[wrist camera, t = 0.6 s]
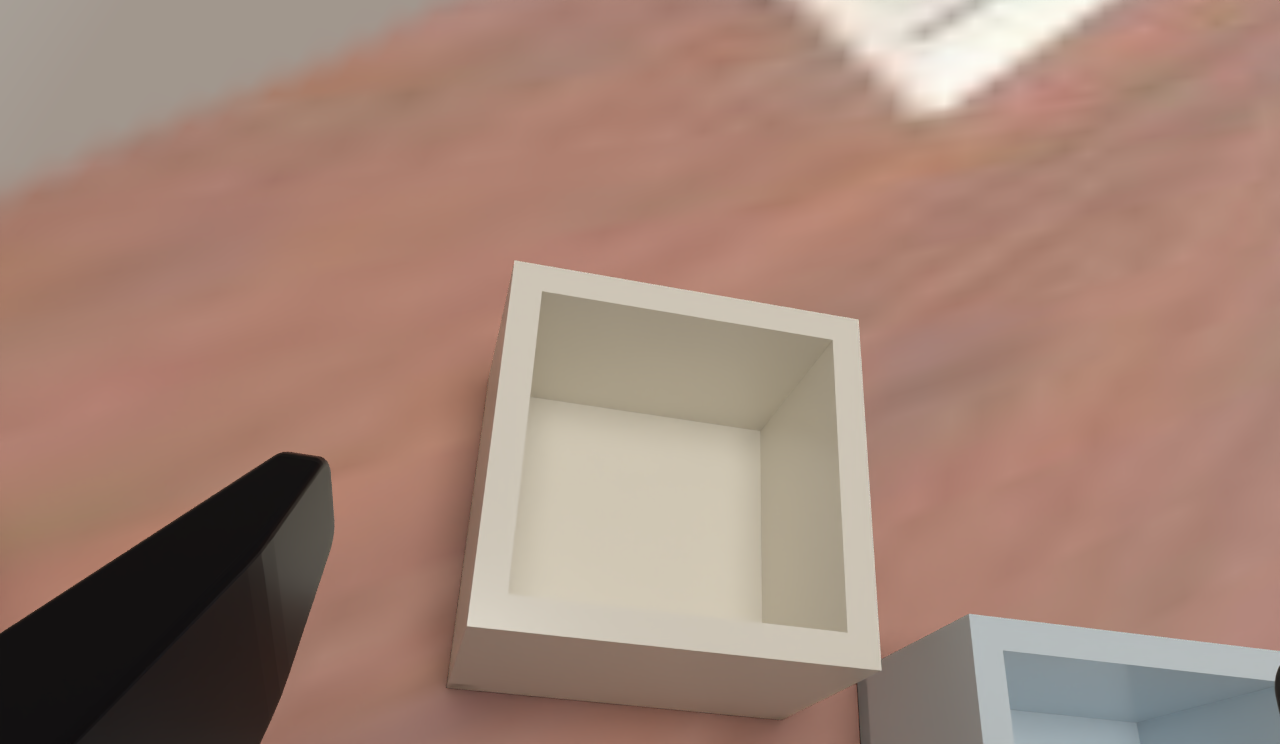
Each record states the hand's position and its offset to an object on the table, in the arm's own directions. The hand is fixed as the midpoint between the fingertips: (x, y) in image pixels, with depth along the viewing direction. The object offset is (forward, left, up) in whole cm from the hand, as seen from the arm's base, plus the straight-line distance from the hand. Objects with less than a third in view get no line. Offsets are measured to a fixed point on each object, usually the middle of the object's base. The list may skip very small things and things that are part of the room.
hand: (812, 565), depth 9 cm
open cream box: (+5, -1, -13) cm, 14 cm away
